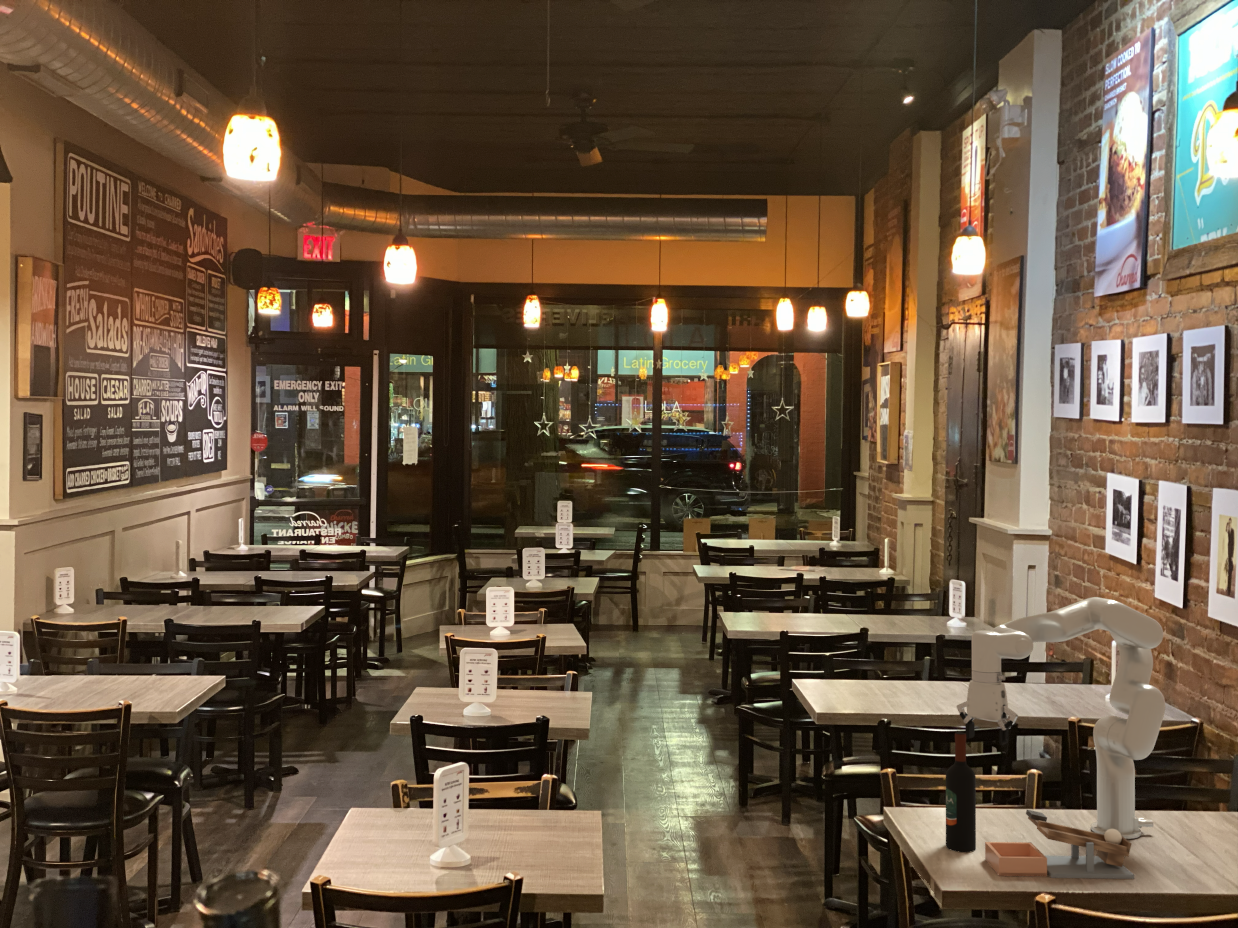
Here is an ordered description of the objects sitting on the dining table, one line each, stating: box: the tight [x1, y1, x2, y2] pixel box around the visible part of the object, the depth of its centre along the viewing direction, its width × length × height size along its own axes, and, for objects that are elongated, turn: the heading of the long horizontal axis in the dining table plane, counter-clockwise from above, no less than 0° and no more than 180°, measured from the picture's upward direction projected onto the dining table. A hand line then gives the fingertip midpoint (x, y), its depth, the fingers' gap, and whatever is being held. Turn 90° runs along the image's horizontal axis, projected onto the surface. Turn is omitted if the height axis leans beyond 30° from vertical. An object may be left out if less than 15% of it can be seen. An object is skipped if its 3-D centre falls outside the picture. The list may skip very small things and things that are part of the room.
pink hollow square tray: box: [984, 841, 1048, 878], centre depth 279 cm, size 12×12×4 cm
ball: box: [1104, 829, 1122, 844], centre depth 278 cm, size 4×4×4 cm
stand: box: [1043, 842, 1135, 880], centre depth 278 cm, size 20×13×8 cm, turn 88°
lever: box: [1025, 809, 1132, 867], centre depth 283 cm, size 20×17×6 cm
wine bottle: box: [945, 731, 977, 853], centre depth 294 cm, size 8×8×30 cm
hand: (986, 740), depth 300 cm, fingers open, 9 cm apart
